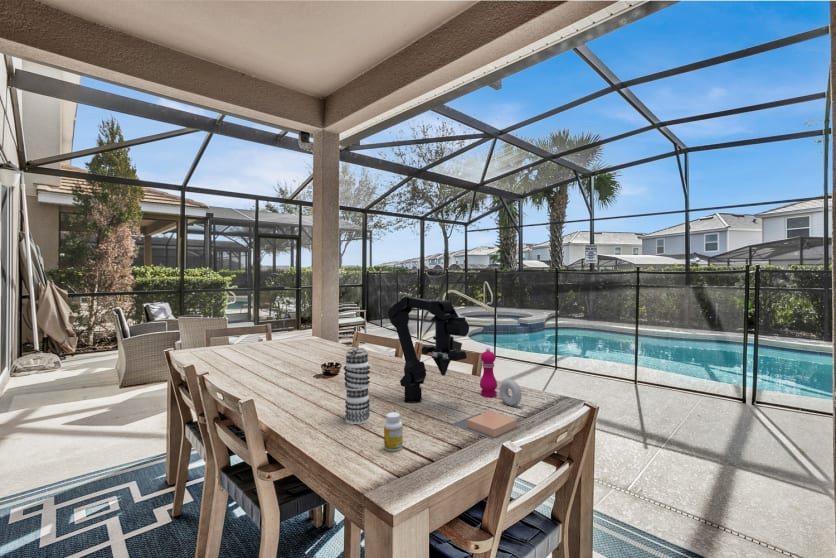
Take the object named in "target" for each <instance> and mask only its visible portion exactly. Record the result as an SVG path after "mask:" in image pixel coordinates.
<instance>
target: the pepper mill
mask: <svg viewBox="0 0 836 558" xmlns="http://www.w3.org/2000/svg"><path fill="white" fill-rule="evenodd" d="M480 359H481V361H482V363H481V364H482V365H481V366H482V367H483V368H482V369H483V371H482V372H483V374H482V376H481V378H480V381H479V387H480V389H481V391H480V396H482V397H483V396H484V398H495V397H496V396H497V391H496V390H497V388H498V382H497V380H496V377H495V374H494V367H495V361H496V354H495V353H494V352H493V351H491V348H490V347H487V348H485V351H483V352H482V353H481V356H480Z"/></svg>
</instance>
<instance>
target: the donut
mask: <svg viewBox="0 0 836 558" xmlns="http://www.w3.org/2000/svg"><path fill="white" fill-rule="evenodd" d="M499 385H500V386H499V396H500V398H501V400H502V402H504V403H505V404H506V405H507V406H511V407H515V406H518V405H519V403H520V402H521V399H522V396H523V395H522V390H521V387H520V385H519V383H517V382H516V381H515V380H513V379H508V378H507V379H505V380H503V381H502V382H501V384H499ZM509 389H510V391H511V393H512V395H510V394H509Z"/></svg>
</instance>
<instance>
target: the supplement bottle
mask: <svg viewBox="0 0 836 558" xmlns="http://www.w3.org/2000/svg"><path fill="white" fill-rule="evenodd" d="M385 417H386V418H385V422H384V424H383V440H384V442H383V445H384V449H385V450H386V451H387V452H399V451H401V450H402V448H403V446H404V445H403V444H404V443H403V440H404V437H403V422H402V421H401V414H400V413H399V412H393V411H392V412H389V413H387V414H386V416H385Z"/></svg>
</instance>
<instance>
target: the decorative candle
mask: <svg viewBox="0 0 836 558" xmlns="http://www.w3.org/2000/svg"><path fill="white" fill-rule="evenodd" d="M344 355H345V356H346V357H345V360H346V361H345V365H344V366H343V371H344V381H345V382H344V388H345V389H346V395H345V402H344V403H345V406H344V407H345V423H347V422H348V423H350V424H349V425H353V424H358V425H363V424H362V423H364V424H366V423H368V422H369V421H370V420H371V418H370V415H371V414H370V411H371V410H370V406H371V405H370V401H371V400H370V398H369V396H370V395H369V387H370V383H371V381H370V380H369V379H370V376H368V375H369V374H370V373H371V371H370V369H371V366H369V360H368V358H369V356H368V355H369V352H368V351H367V350H366V349H365V348H363V347H352V348H349V349H348V350H347V352H346V353H344ZM348 423H347V424H348Z"/></svg>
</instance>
